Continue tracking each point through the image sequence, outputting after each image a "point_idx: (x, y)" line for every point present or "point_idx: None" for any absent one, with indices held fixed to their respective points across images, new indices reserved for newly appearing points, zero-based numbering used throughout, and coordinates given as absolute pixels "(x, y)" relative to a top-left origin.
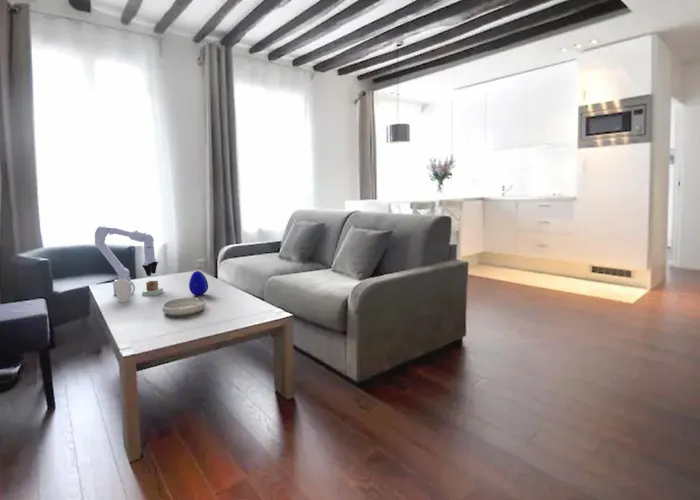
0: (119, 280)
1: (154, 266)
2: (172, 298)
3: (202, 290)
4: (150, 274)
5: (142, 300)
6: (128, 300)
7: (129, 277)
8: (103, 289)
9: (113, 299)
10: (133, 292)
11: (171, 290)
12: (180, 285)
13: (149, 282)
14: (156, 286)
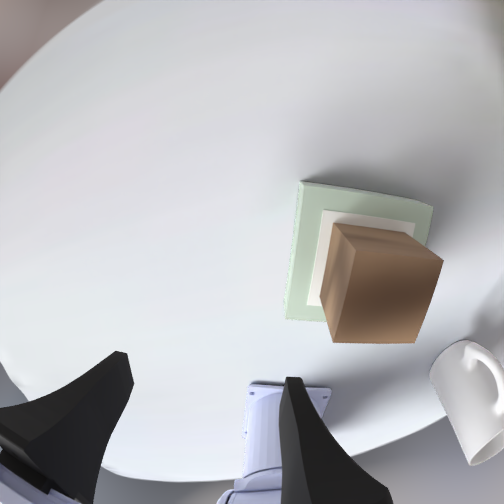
0: (469, 461)
1: (79, 425)
2: (497, 92)
3: None
4: (306, 390)
5: (491, 270)
6: (467, 340)
7: (253, 480)
8: (179, 469)
9: (398, 411)
10: (481, 347)
11: (259, 114)
12: (85, 102)
13: (414, 317)
14: (382, 237)
